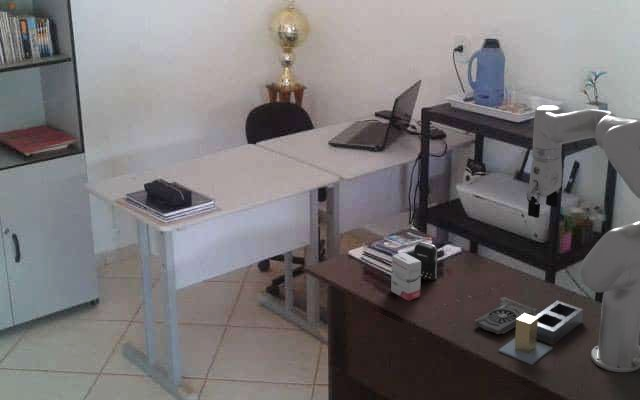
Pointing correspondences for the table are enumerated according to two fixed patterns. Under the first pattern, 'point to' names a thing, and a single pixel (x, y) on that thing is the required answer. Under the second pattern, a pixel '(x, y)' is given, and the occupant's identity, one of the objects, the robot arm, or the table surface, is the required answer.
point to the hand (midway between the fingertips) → (542, 211)
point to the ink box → (406, 276)
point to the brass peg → (526, 333)
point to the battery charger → (427, 260)
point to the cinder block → (557, 321)
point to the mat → (528, 358)
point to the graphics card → (503, 317)
